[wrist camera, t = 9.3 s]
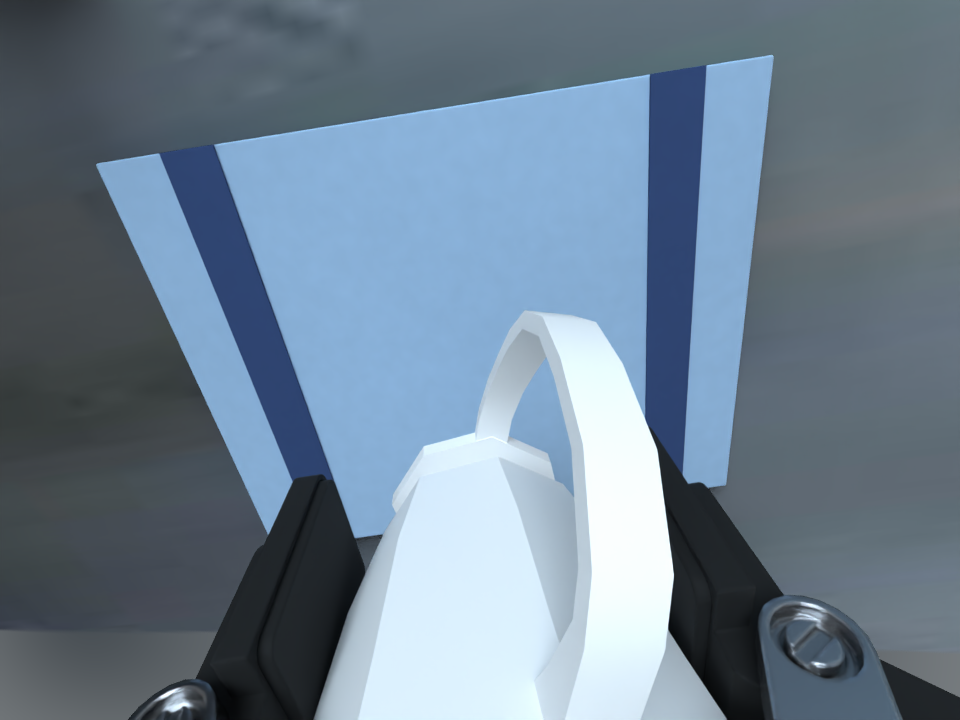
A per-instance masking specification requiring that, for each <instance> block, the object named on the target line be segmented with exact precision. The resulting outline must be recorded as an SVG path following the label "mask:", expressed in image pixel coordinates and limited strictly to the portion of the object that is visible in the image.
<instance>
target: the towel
mask: <svg viewBox="0 0 960 720" xmlns="http://www.w3.org/2000/svg"><path fill="white" fill-rule="evenodd" d="M773 58H774V57H773V56H772V55H769V56H763V57H756V58H750V59H744V60H738V61H731V62H725V63H719V64H713V65H705V66H699V67H693V68H686V69H680V70H674V71H668V72H662V73H655V74H650V75H644V76H638V77H632V78H626V79H619V80H613V81H607V82H601V83H595V84H588V85H582V86H576V87H570V88H563V89H557V90H551V91H545V92H539V93H532V94H526V95H520V96H514V97H508V98H501V99H495V100H489V101H483V102H476V103H470V104H464V105H458V106H452V107H445V108H439V109H433V110H427V111H420V112H414V113H408V114H402V115H396V116H389V117H383V118H377V119H371V120H364V121H358V122H352V123H346V124H340V125H333V126H327V127H321V128H315V129H308V130H302V131H296V132H290V133H284V134H277V135H271V136H265V137H259V138H252V139H246V140H240V141H234V142H228V143H221V144H215V145H208V146H201V147H195V148H189V149H183V150H176V151H170V152H164V153H159V154H153V155H147V156H141V157H134V158H128V159H122V160H116V161H109V162H103V163H98V164H97V168H98V170H99V172H100V175H101V177H102V179H103V181H104V183H105V185H106V187H107V190H108V192H109V194H110V196H111V198H112V200H113V203H114V205H115V207H116V209H117V211H118V213H119V215H120V218H121V220H122V222H123V224H124V226H125V228H126V230H127V233H128V235H129V237H130V239H131V241H132V243H133V245H134V248H135V250H136V252H137V254H138V256H139V258H140V261H141V263H142V265H143V267H144V269H145V271H146V273H147V276H148V278H149V280H150V282H151V284H152V286H153V288H154V291H155V293H156V295H157V297H158V299H159V301H160V303H161V306H162V308H163V310H164V312H165V314H166V316H167V318H168V321H169V323H170V325H171V327H172V329H173V331H174V334H175V336H176V338H177V340H178V342H179V344H180V346H181V349H182V351H183V353H184V355H185V357H186V359H187V361H188V364H189V366H190V368H191V370H192V372H193V374H194V376H195V379H196V381H197V383H198V385H199V387H200V389H201V391H202V394H203V396H204V398H205V400H206V402H207V404H208V407H209V409H210V411H211V413H212V415H213V417H214V419H215V422H216V424H217V426H218V428H219V430H220V432H221V434H222V437H223V439H224V441H225V443H226V445H227V447H228V449H229V452H230V454H231V456H232V458H233V460H234V462H235V465H236V467H237V469H238V471H239V473H240V475H241V477H242V480H243V482H244V484H245V486H246V488H247V490H248V492H249V495H250V497H251V499H252V501H253V503H254V505H255V507H256V510H257V512H258V514H259V516H260V518H261V520H262V522H263V525H264V527H265V529H266V531H267V533H268V535H269V533H270V530H271V528H272V526H273V524H274V522H275V520H276V517H277V515H278V513H279V511H280V509H281V506H282V504H283V502H284V500H285V498H286V495H287V493H288V491H289V489H290V487H291V484H292V482H293V481H294V479H296V478H298V477H305V476H312V475H318V474H323V475H324V476H325V477H326V479H327V480H330V479H331V480H333V481H334V482H335V484H336V487H337V490H338V493H339V495H340V498H341V501H342V504H343V507H344V509H345V512H346V515H347V518H348V521H349V523H350V526H351V529H352V532H353V535H354V538H360V537H367V536H374V535H381V534H384V532H385V530H386V528H387V527H388V525H389V524H390V522H391V521H392V519H393V518H394V516H395V515H396V512H395V510H394V508H393V506H392V499H393V494H394V492H395V490H396V489H397V487H398V486H399V484H400V483H401V481H402V480H403V478H404V476H405V475H406V473H407V472H408V470H409V469H410V467H411V465H412V464H413V462H414V461H415V459H416V458H417V456H418V454H419V453H420V451H421V450H422V448H423V447H424V446H427V445H430V444H434V443H438V442H442V441H445V440H449V439H453V438H456V437H460V436H464V435H468V434H471V433H475V428H476V422H477V417H478V411H479V406H480V403H481V400H482V397H483V393H484V390H485V387H486V383H487V380H488V377H489V375H490V373H491V370H492V368H493V365H494V363H495V361H496V358H497V356H498V353H499V351H500V349H501V347H502V345H503V343H504V340H505V338H506V336H507V334H508V332H509V330H510V328H511V327H512V326H513V324H514V323H515V322H516V321H517V319H518V318H519V317H520V316H521V314H522V313H523V312H524V310H527V311H537V312H547V313H557V314H566V315H573V316H577V317H580V318H584V319H587V320H591V321H594V322H596V323H597V324H598V326H599V327H600V329H601V330H602V332H603V334H604V335H605V337H606V338H607V340H608V341H609V343H610V344H611V346H612V348H613V349H614V351H615V352H616V354H617V355H618V357H619V359H620V360H621V362H622V363H623V366H624V368H625V371H626V373H627V376H628V378H629V381H630V383H631V386H632V388H633V391H634V393H635V395H636V398H637V400H638V403H639V405H640V408H641V410H642V413H643V415H644V418H645V420H646V423H647V425H648V426H650V427H651V428H652V429H653V431H654V433H655V434H656V436H657V437H658V439H659V440H660V442H661V443H662V445H663V446H664V448H665V449H666V451H667V452H668V454H669V455H670V457H671V458H672V460H673V461H674V463H675V464H676V466H677V467H678V469H679V470H680V472H681V473H682V475H683V476H684V478H685V480H686V481H687V483H688V484H689V483H696V482H701V483H703V484H705V486H706V487H707V488H710V487H717V486H724V485H726V481H727V472H728V463H729V454H730V445H731V436H732V427H733V418H734V409H735V400H736V391H737V382H738V373H739V364H740V355H741V346H742V337H743V328H744V319H745V310H746V301H747V292H748V283H749V274H750V265H751V256H752V247H753V238H754V229H755V220H756V211H757V202H758V193H759V184H760V175H761V166H762V157H763V148H764V139H765V130H766V121H767V112H768V103H769V94H770V85H771V76H772V67H773ZM509 437H512V438H514V439H516V440H518V441H521V442H523V443H525V444H527V445H530V446H532V447H534V448H536V449H539V450H541V451H543V452H546V453H548V456H549V459H550V462H551V466H552V470H553V474H554V478H555V481H557V482H560V483H562V484H563V485H564V486H565V487H566V488H567V490H568V491H569V492H570V493H571V494H572V495H573V497H574V485H573V468H572V451H571V445H570V441H569V437H568V432H567V428H566V424H565V420H564V416H563V412H562V408H561V404H560V400H559V396H558V392H557V388H556V384H555V379H554V376H553V373H552V371H551V368H550V365H549V362H548V360H547V357H546V358H545V359H544V361H543V362H542V364H541V365H540V367H539V368H538V370H537V371H536V373H535V374H534V376H533V377H532V379H531V381H530V382H529V384H528V386H527V387H526V389H525V390H524V392H523V394H522V397H521V399H520V401H519V404H518V406H517V409H516V411H515V413H514V416H513V418H512V421H511V426H510V431H509Z"/></svg>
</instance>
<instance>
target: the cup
mask: <svg viewBox="0 0 960 720" xmlns="http://www.w3.org/2000/svg"><path fill="white" fill-rule="evenodd" d="M546 357H547V360H548V362H549V365H550V368H551V371H552V373H553V376H554V379H555V384H556V388H557V392H558V396H559V400H560V404H561V408H562V412H563V416H564V420H565V424H566V428H567V432H568V437H569V441H570V445H571V451H572V468H573V485H574V497H573V495H572V494H571V493H570V492H569V491H568V490H567V488H566V487H565V486H564V485H563V484H562V483H560V482H557V481H555V478H554V474H553V470H552V466H551V462H550V459H549V456H548V453H546V452H543V451H541V450H539V449H536V448H534V447H532V446H530V445H527V444H525V443H523V442H521V441H518V440H516V439H514V438H512V437H509V431H510V426H511V421H512V418H513V416H514V413H515V411H516V409H517V406H518V404H519V401H520V399H521V397H522V394H523V392H524V390H525V389H526V387H527V386H528V384H529V382H530V381H531V379H532V377H533V376H534V374H535V373H536V371H537V370H538V368H539V367H540V365H541V364H542V362H543V361H544V359H545V358H546ZM392 506H393V508H394V510H395V512H396V515H395V516H394V518H393V519H392V521H391V522H390V524H389V525H388V527H387V528H386V530H385V532H384V534H383V536H382V538H381V541H380V543H379V545H378V547H377V549H376V552H375V554H374V556H373V558H372V561H371V563H370V565H369V567H368V569H367V572H366V574H365V576H364V578H363V580H362V583H361V585H360V587H359V589H358V592H357V594H356V596H355V598H354V600H353V603H352V605H351V607H350V609H349V612H348V614H347V617H346V620H345V623H344V626H343V629H342V633H341V636H340V639H339V642H338V645H337V648H336V651H335V654H334V657H333V661H332V664H331V667H330V670H329V673H328V676H327V679H326V682H325V685H324V688H323V692H322V695H321V698H320V701H319V704H318V707H317V710H316V713H315V716H314V720H727V719H726V717H725V716H724V714H723V713H722V711H721V710H720V708H719V707H718V705H717V704H716V702H715V701H714V699H713V698H712V696H711V695H710V693H709V692H708V690H707V689H706V687H705V686H704V684H703V683H702V681H701V680H700V678H699V677H698V675H697V674H696V672H695V671H694V669H693V668H692V666H691V665H690V663H689V662H688V660H687V659H686V657H685V656H684V654H683V653H682V651H681V649H680V648H679V646H678V645H677V643H676V642H675V640H674V638H673V637H672V635H671V634H670V632H669V631H668V622H669V613H670V605H671V596H672V587H673V579H674V572H673V564H672V557H671V549H670V542H669V534H668V527H667V519H666V512H665V504H664V497H663V489H662V482H661V474H660V467H659V459H658V451H657V448H656V445H655V443H654V440H653V438H652V435H651V433H650V430H649V428H648V425H647V423H646V420H645V418H644V415H643V413H642V410H641V408H640V405H639V403H638V400H637V398H636V395H635V393H634V391H633V388H632V386H631V383H630V381H629V378H628V376H627V373H626V371H625V368H624V366H623V363H622V362H621V360H620V359H619V357H618V355H617V354H616V352H615V351H614V349H613V348H612V346H611V344H610V343H609V341H608V340H607V338H606V337H605V335H604V334H603V332H602V330H601V329H600V327H599V326H598V324H597V323H596V322H594V321H591V320H587V319H584V318H580V317H577V316H573V315H566V314H557V313H547V312H537V311H527V310H524V312H523V313H522V314H521V316H520V317H519V318H518V319H517V321H516V322H515V323H514V324H513V326H512V327H511V328H510V330H509V332H508V334H507V336H506V338H505V340H504V343H503V345H502V347H501V349H500V351H499V353H498V356H497V358H496V361H495V363H494V365H493V368H492V370H491V373H490V375H489V377H488V380H487V383H486V387H485V390H484V393H483V397H482V400H481V403H480V406H479V411H478V417H477V422H476V428H475V433H471V434H468V435H464V436H460V437H456V438H453V439H449V440H445V441H442V442H438V443H434V444H430V445H427V446H424V447H423V448H422V450H421V451H420V453H419V454H418V456H417V458H416V459H415V461H414V462H413V464H412V465H411V467H410V469H409V470H408V472H407V473H406V475H405V476H404V478H403V480H402V481H401V483H400V484H399V486H398V487H397V489H396V490H395V492H394V494H393V499H392Z"/></svg>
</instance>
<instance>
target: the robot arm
mask: <svg viewBox="0 0 960 720" xmlns="http://www.w3.org/2000/svg"><path fill="white" fill-rule="evenodd" d="M648 428H649V430H650V433H651V435H652V438H653V440H654V443H655V445H656V448H657V451H658V459H659V467H660V474H661V482H662V489H663V497H664V504H665V512H666V519H667V527H668V534H669V542H670V549H671V557H672V564H673V572H674V579H673V587H672V596H671V605H670V613H669V622H668V631H669V632H670V634H671V635H672V637H673V638H674V640H675V642H676V643H677V645H678V646H679V648H680V649H681V651H682V653H683V654H684V656H685V657H686V659H687V660H688V662H689V663H690V665H691V666H692V668H693V669H694V671H695V672H696V674H697V675H698V677H699V678H700V680H701V681H702V683H703V684H704V686H705V687H706V689H707V690H708V692H709V693H710V695H711V696H712V698H713V699H714V701H715V702H716V704H717V705H718V707H719V708H720V710H721V711H722V713H723V714H724V716H725V717H726V719H727V720H960V697H957V696H955V695H953V694H951V693H949V692H947V691H945V690H943V689H941V688H939V687H936V686H935V685H932V684H930V683H928V682H926V681H924V680H922V679H920V678H918V677H915V676H913V675H911V674H909V673H907V672H905V671H903V670H901V669H899V668H897V667H895V666H893V665H890V664H888V663H886V662H884V661H882V660H880V659H879V657H878V655H877V652H876V650H875V648H874V646H873V644H872V643H871V641H870V639H869V637H868V636H867V634H866V633H865V632H864V631H863V630H862V629H861V628H860V627H859V626H858V625H857V624H856V623H855V621H853V620H852V619H851V618H849V617H848V616H847V615H845V614H844V613H842V612H841V611H840V610H838V609H836V608H834V607H832V606H830V605H828V604H826V603H824V602H822V601H820V600H816V599H812V598H809V597H805V596H795V595H785V596H784V595H783V593H782V592H781V591H780V589H779V588H778V586H777V585H776V583H775V582H774V581H773V579H772V578H771V576H770V575H769V574H768V572H767V571H766V569H765V568H764V567H763V565H762V564H761V562H760V561H759V559H758V558H757V557H756V555H755V554H754V552H753V551H752V550H751V548H750V547H749V545H748V544H747V542H746V541H745V540H744V538H743V537H742V535H741V534H740V533H739V531H738V530H737V528H736V527H735V525H734V524H733V523H732V521H731V520H730V518H729V517H728V516H727V514H726V513H725V511H724V510H723V509H722V507H721V506H720V504H719V503H718V501H717V500H716V499H715V497H714V496H713V494H712V493H711V492H710V490H709V489H708V488H707V487H706V486H705V484H703V483H701V482H696V483H689V484H688V483H687V481H686V480H685V478H684V476H683V475H682V473H681V472H680V470H679V469H678V467H677V466H676V464H675V463H674V461H673V460H672V458H671V457H670V455H669V454H668V452H667V451H666V449H665V448H664V446H663V445H662V443H661V442H660V440H659V439H658V437H657V436H656V434H655V433H654V431H653V429H652V428H651V427H650V426H648ZM364 576H365V566H364V563H363V560H362V557H361V554H360V552H359V549H358V546H357V543H356V540H355V538H354V535H353V532H352V529H351V526H350V523H349V521H348V518H347V515H346V512H345V509H344V507H343V504H342V501H341V498H340V495H339V493H338V490H337V487H336V484H335V482H334V481H333V480H331V479H330V480H327V479H326V477H325V476H324V475H323V474H318V475H312V476H305V477H298V478H296V479H294V481H293V482H292V484H291V487H290V489H289V491H288V493H287V495H286V498H285V500H284V502H283V504H282V506H281V509H280V511H279V513H278V515H277V517H276V520H275V522H274V524H273V526H272V528H271V530H270V533H269V535H268V537H267V539H266V541H265V544H264V545H262V546H261V547H260V548H258V549H257V551H256V552H255V554H254V556H253V558H252V560H251V562H250V564H249V566H248V568H247V570H246V572H245V575H244V577H243V579H242V581H241V583H240V585H239V587H238V590H237V592H236V594H235V596H234V598H233V600H232V602H231V604H230V607H229V609H228V611H227V613H226V615H225V617H224V619H223V622H222V624H221V626H220V628H219V630H218V632H217V634H216V636H215V639H214V641H213V643H212V645H211V647H210V649H209V651H208V654H207V656H206V658H205V660H204V662H203V664H202V666H201V668H200V671H199V673H198V675H197V677H196V679H190V680H183V681H180V682H177V683H174V684H171V685H169V686H167V687H166V688H164V689H162V690H160V691H159V692H157V693H156V694H154V695H153V696H152V697H150V698H149V699H148V700H147V701H146V702H144V703H143V704H142V705H141V706H140V707H138V709H137V710H136V711H135V712H134V713H133V714H132V715H131V717H130V718H129V719H128V720H314V716H315V713H316V710H317V707H318V704H319V701H320V698H321V695H322V692H323V688H324V685H325V682H326V679H327V676H328V673H329V670H330V667H331V664H332V661H333V657H334V654H335V651H336V648H337V645H338V642H339V639H340V636H341V633H342V629H343V626H344V623H345V620H346V617H347V614H348V612H349V609H350V607H351V605H352V603H353V600H354V598H355V596H356V594H357V592H358V589H359V587H360V585H361V583H362V580H363V578H364Z"/></svg>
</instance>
